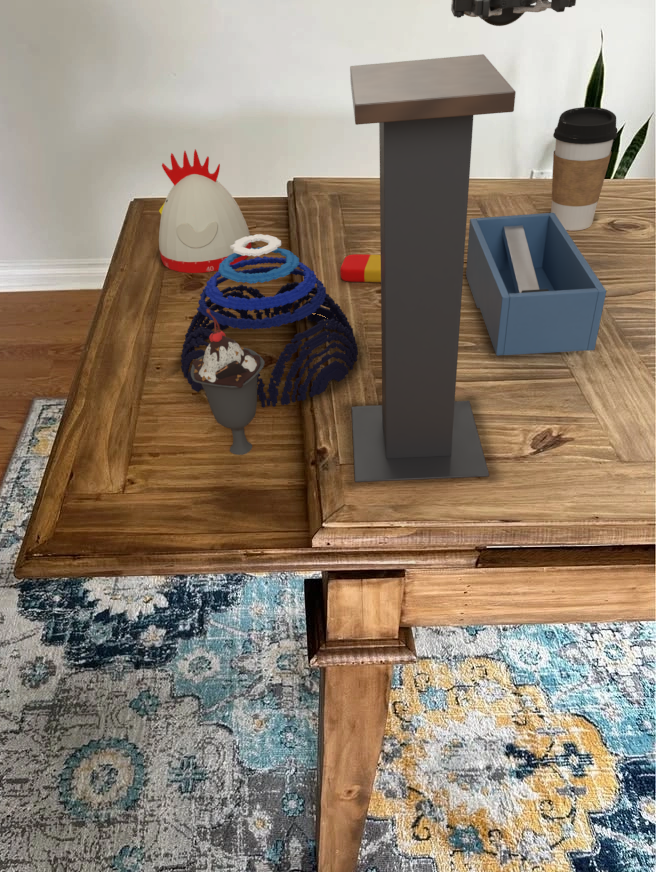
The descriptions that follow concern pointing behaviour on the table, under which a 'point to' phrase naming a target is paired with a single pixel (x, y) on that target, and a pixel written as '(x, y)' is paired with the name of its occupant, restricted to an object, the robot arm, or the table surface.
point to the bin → (534, 311)
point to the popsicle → (361, 268)
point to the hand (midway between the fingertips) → (524, 4)
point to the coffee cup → (580, 164)
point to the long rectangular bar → (520, 260)
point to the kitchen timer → (198, 219)
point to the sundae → (229, 384)
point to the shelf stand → (422, 262)
